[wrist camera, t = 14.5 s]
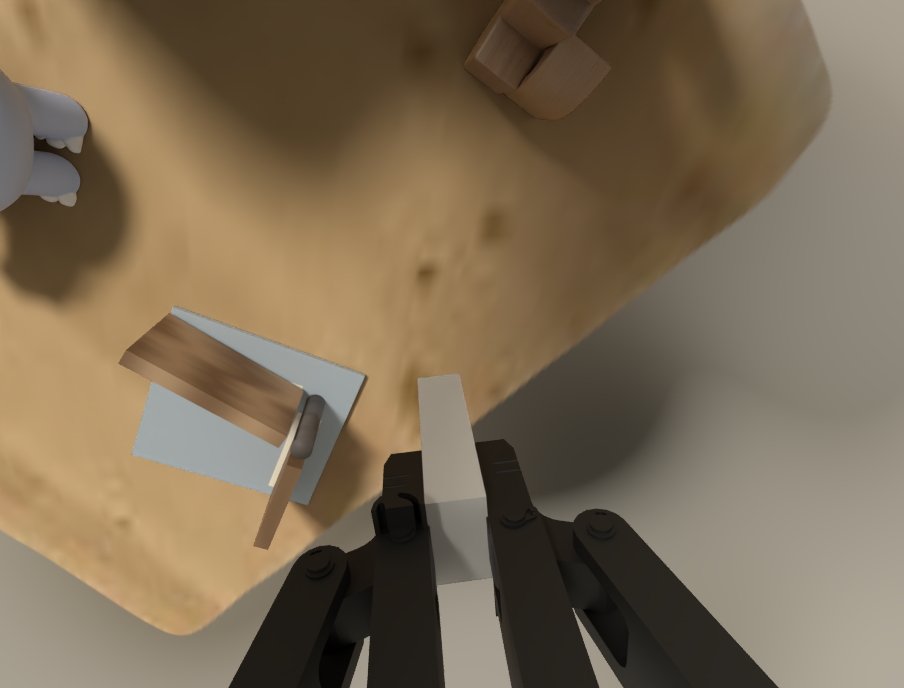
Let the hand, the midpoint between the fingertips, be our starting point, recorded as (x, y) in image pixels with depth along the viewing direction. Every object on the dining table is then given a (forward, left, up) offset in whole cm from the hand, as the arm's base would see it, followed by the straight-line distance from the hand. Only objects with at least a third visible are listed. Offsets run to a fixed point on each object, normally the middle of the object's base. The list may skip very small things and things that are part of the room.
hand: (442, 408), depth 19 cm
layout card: (-8, -19, -24) cm, 32 cm away
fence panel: (-10, -14, -24) cm, 30 cm away
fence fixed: (-3, -21, -24) cm, 32 cm away
